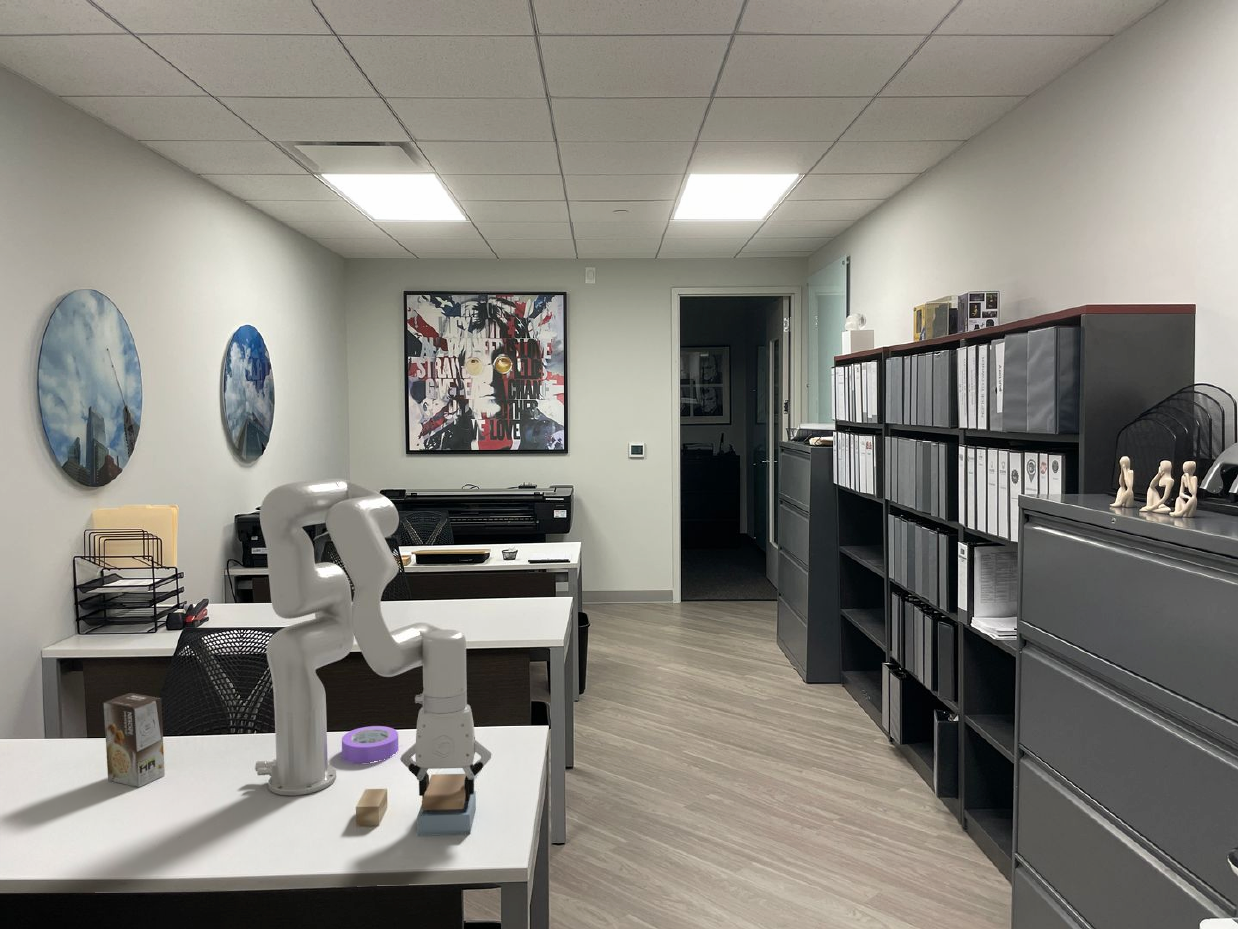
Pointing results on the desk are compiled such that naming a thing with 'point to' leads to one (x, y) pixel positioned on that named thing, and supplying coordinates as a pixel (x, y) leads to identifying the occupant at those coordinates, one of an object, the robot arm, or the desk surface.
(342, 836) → the desk surface
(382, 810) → the wooden block
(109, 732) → the coffee box
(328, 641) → the robot arm
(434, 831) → the light blue open tray
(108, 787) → the desk surface
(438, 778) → the lid
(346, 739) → the masking tape
